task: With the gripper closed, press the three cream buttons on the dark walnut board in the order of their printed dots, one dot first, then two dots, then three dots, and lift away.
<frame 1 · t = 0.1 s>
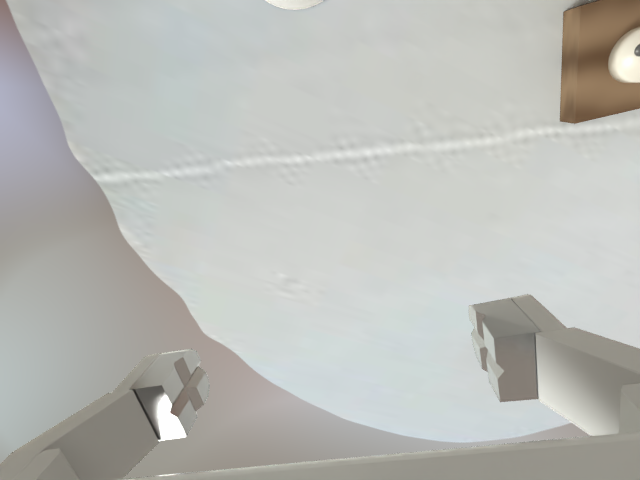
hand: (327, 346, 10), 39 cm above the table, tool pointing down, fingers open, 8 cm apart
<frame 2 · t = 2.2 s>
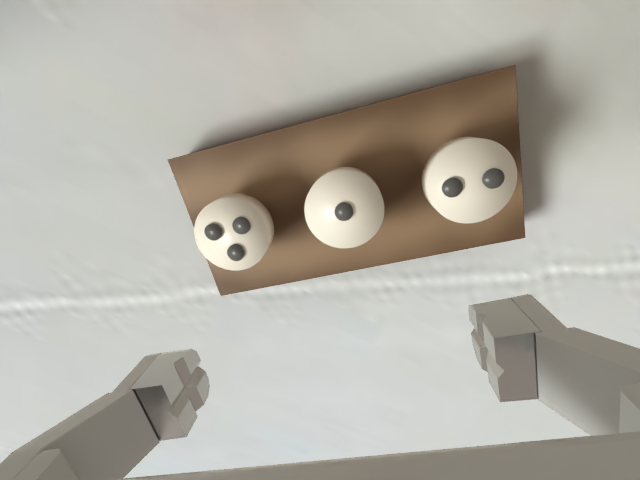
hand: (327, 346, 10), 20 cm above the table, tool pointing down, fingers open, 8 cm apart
button three: (235, 232, 24), point 6 cm above the table, slide at 0.0 cm
button board: (345, 190, 28), on the table
button two: (467, 180, 21), point 6 cm above the table, slide at 0.0 cm
button one: (344, 207, 22), point 6 cm above the table, slide at 0.0 cm
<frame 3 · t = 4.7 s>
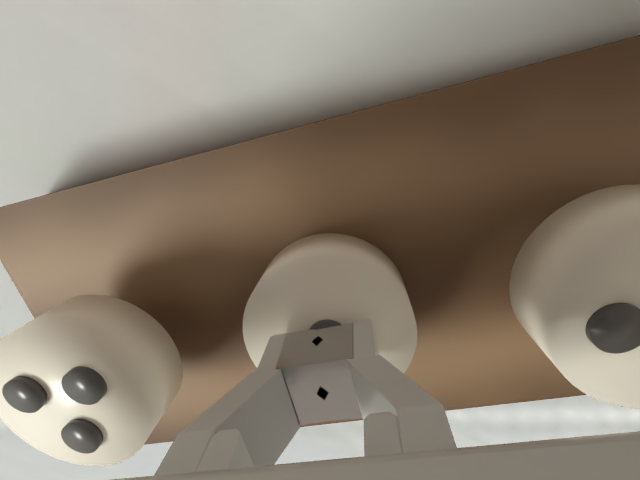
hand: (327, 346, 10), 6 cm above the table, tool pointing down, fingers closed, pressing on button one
button three: (89, 381, 11), point 6 cm above the table, slide at 0.0 cm
button board: (336, 263, 15), on the table
button one: (329, 320, 11), point 5 cm above the table, slide at 1.3 cm, touching gripper
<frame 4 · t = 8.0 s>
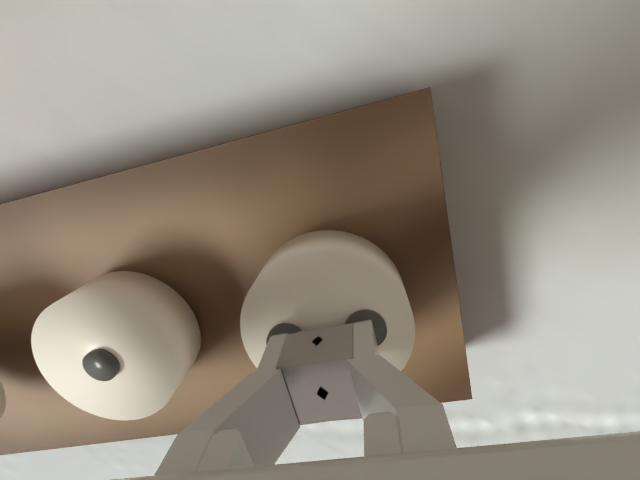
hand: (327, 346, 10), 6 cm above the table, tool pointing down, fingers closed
button board: (179, 289, 17), on the table
button two: (327, 317, 11), point 5 cm above the table, slide at 1.0 cm
button one: (120, 346, 12), point 4 cm above the table, slide at 1.4 cm
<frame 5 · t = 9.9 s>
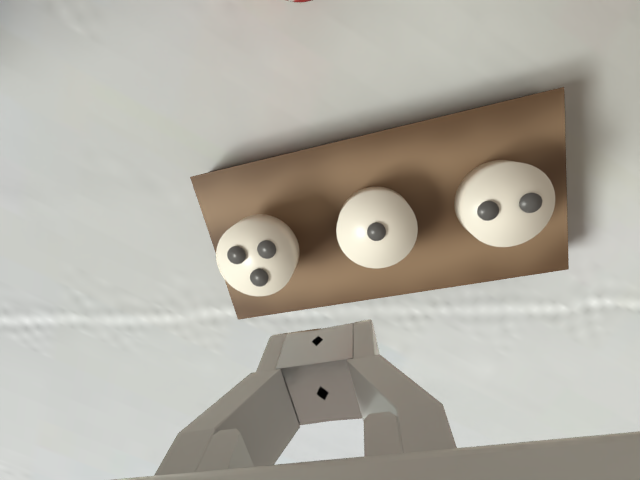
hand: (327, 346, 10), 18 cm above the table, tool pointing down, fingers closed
button three: (258, 255, 22), point 6 cm above the table, slide at 0.0 cm
button board: (373, 212, 26), on the table
button two: (502, 203, 21), point 5 cm above the table, slide at 1.4 cm
button one: (375, 227, 22), point 4 cm above the table, slide at 1.4 cm
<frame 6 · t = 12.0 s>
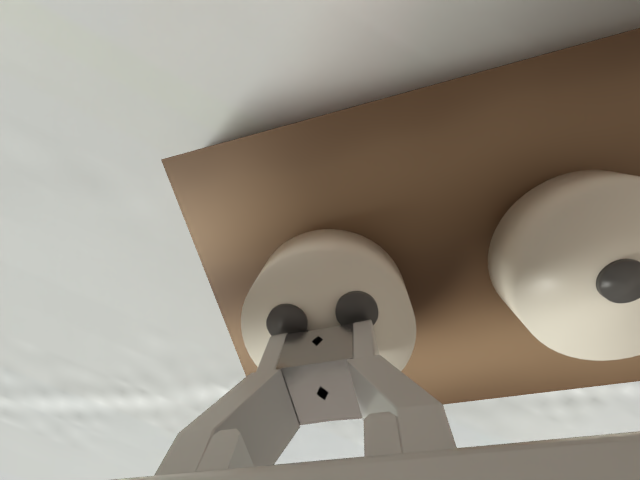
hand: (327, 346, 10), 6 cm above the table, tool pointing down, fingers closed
button three: (328, 316, 11), point 5 cm above the table, slide at 1.2 cm
button board: (521, 222, 14), on the table
button one: (596, 265, 10), point 4 cm above the table, slide at 1.4 cm
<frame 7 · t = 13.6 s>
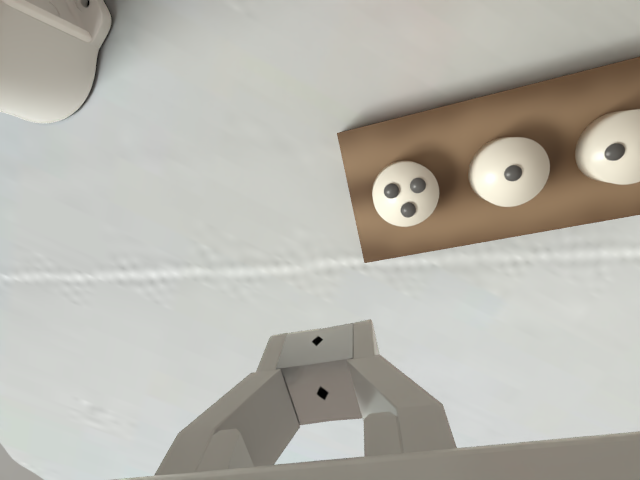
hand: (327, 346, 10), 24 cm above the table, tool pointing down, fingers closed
button three: (404, 193, 27), point 4 cm above the table, slide at 1.4 cm
button board: (486, 166, 30), on the table
button two: (623, 147, 24), point 5 cm above the table, slide at 1.4 cm
button one: (507, 171, 26), point 4 cm above the table, slide at 1.4 cm
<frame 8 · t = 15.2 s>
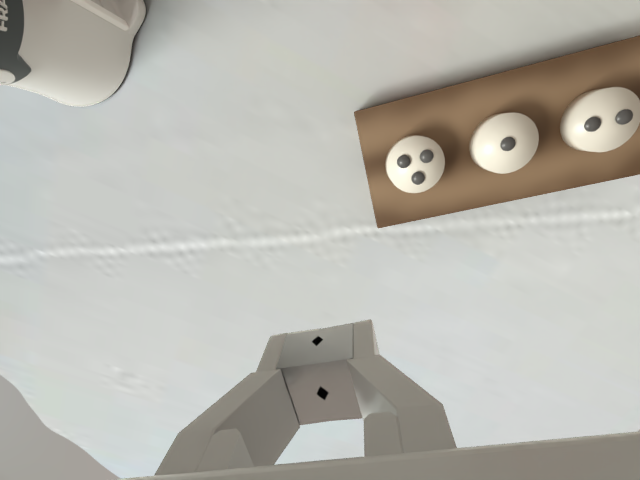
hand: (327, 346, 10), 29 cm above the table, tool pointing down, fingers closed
button three: (414, 164, 31), point 4 cm above the table, slide at 1.4 cm
button board: (484, 141, 34), on the table
button two: (599, 120, 29), point 5 cm above the table, slide at 1.4 cm
button one: (502, 143, 30), point 4 cm above the table, slide at 1.4 cm
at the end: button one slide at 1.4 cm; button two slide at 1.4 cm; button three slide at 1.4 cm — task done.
